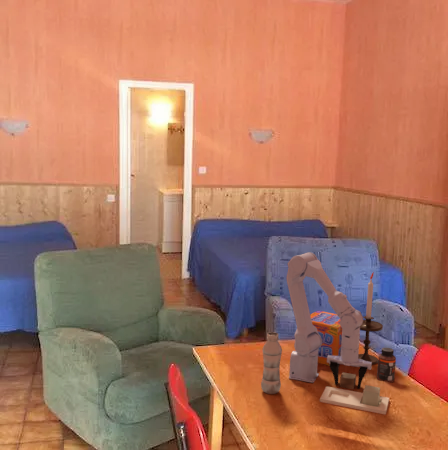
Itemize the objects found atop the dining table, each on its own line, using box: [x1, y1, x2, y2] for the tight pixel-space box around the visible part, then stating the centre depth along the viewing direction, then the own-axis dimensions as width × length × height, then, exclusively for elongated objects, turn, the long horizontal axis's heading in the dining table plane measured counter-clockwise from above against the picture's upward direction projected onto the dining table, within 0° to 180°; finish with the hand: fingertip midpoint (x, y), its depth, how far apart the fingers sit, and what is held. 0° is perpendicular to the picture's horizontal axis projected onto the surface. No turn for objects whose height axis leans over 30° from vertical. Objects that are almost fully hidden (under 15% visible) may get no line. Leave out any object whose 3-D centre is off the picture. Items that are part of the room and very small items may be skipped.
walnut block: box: [339, 371, 357, 390], centre depth 186 cm, size 4×4×5 cm
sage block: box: [362, 384, 381, 407], centre depth 173 cm, size 4×4×5 cm
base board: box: [319, 386, 390, 415], centre depth 175 cm, size 20×10×2 cm, turn 68°
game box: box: [310, 310, 342, 367], centre depth 215 cm, size 16×16×16 cm
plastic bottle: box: [260, 331, 283, 395], centre depth 182 cm, size 6×7×20 cm
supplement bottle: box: [376, 347, 397, 383], centre depth 195 cm, size 6×6×11 cm
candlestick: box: [358, 271, 384, 366], centre depth 211 cm, size 11×11×35 cm
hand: (347, 385), depth 187 cm, fingers open, 7 cm apart
